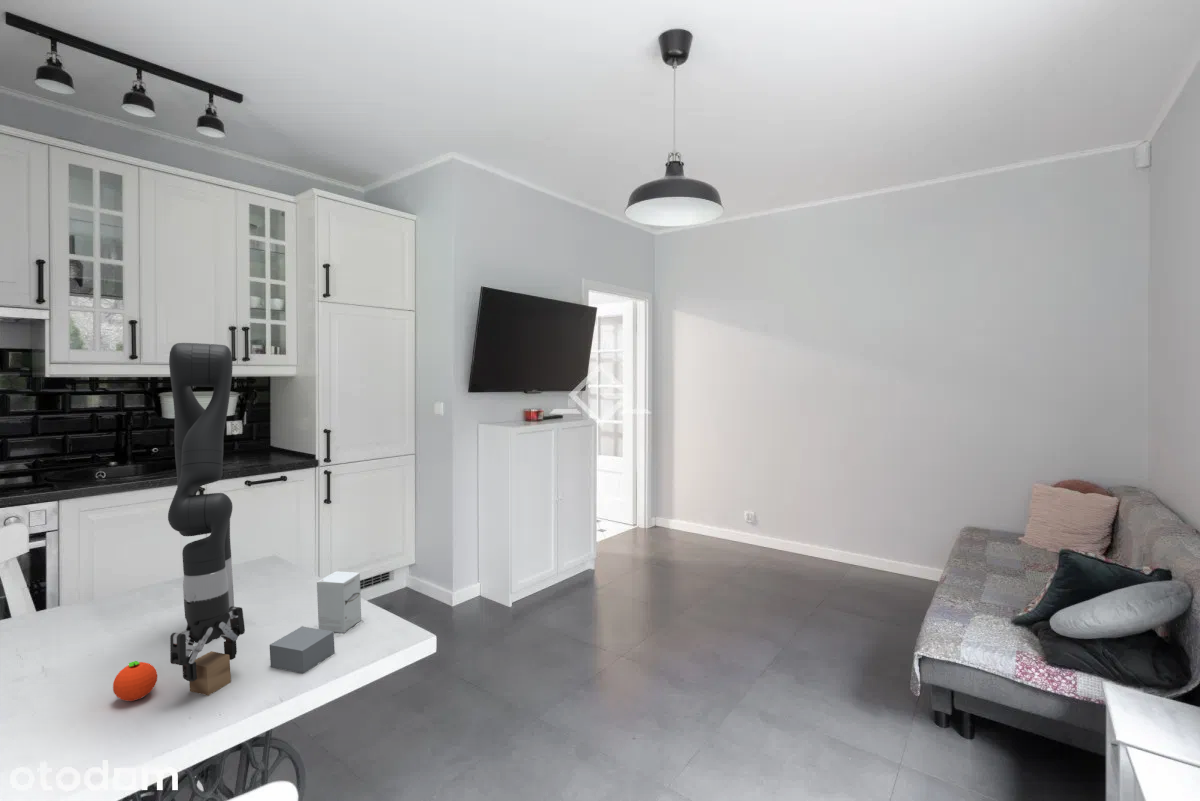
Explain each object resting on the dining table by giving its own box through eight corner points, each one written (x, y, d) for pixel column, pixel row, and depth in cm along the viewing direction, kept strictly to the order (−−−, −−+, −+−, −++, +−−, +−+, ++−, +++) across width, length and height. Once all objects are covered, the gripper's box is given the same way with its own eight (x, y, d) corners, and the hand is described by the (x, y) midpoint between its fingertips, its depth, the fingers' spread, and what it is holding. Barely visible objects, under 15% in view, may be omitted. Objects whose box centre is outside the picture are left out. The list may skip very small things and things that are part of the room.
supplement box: (344, 633, 141) (342, 583, 140) (317, 631, 143) (315, 581, 142) (362, 620, 148) (360, 572, 147) (337, 617, 150) (334, 570, 149)
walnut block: (189, 691, 117) (188, 663, 117) (212, 678, 122) (211, 651, 121) (208, 695, 116) (206, 667, 115) (231, 682, 120) (229, 654, 120)
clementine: (110, 696, 115) (107, 662, 115) (153, 682, 121) (150, 649, 120) (117, 713, 110) (114, 677, 110) (162, 697, 115) (160, 662, 115)
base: (270, 666, 126) (269, 644, 126) (303, 647, 135) (302, 626, 134) (303, 673, 123) (302, 650, 123) (334, 652, 132) (333, 631, 132)
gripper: (224, 577, 125) (228, 650, 126) (156, 604, 111) (162, 685, 113) (251, 580, 123) (255, 654, 124) (185, 608, 109) (191, 691, 110)
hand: (211, 669), depth 118 cm, fingers open, 8 cm apart
